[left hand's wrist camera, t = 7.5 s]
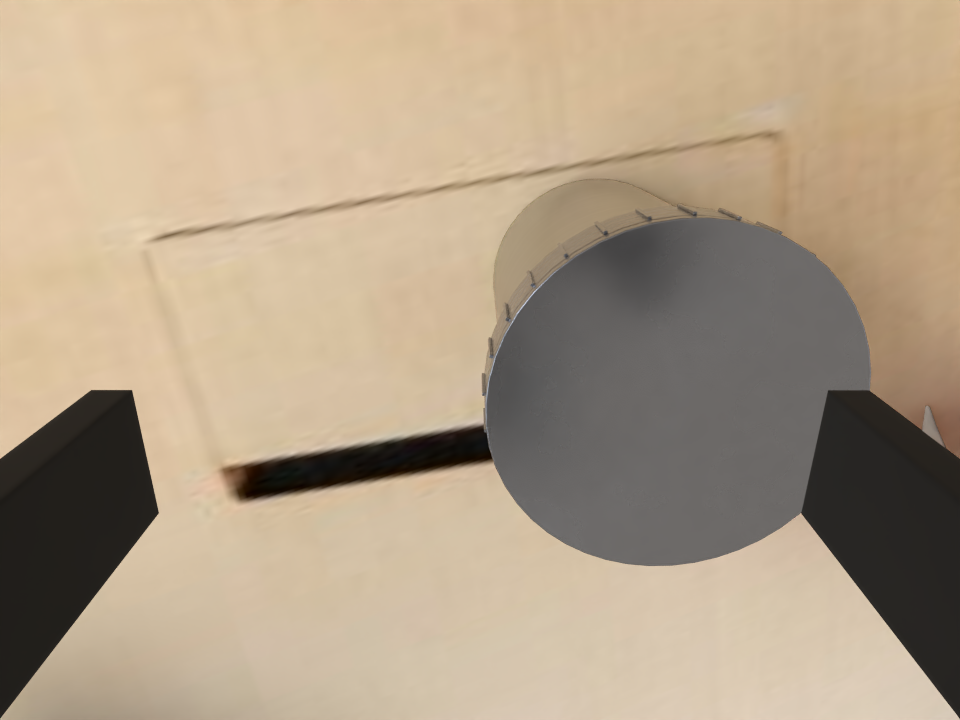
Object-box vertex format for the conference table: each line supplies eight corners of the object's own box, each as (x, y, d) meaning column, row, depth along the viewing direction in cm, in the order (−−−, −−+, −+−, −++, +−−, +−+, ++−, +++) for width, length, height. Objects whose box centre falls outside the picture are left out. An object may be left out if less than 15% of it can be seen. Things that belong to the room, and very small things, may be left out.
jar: (548, 142, 31) (607, 175, 17) (726, 232, 33) (911, 328, 19) (461, 324, 35) (452, 474, 21) (627, 397, 36) (721, 582, 22)
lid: (587, 134, 19) (600, 138, 17) (911, 300, 21) (958, 321, 19) (426, 456, 22) (421, 491, 20) (711, 571, 24) (732, 612, 22)
